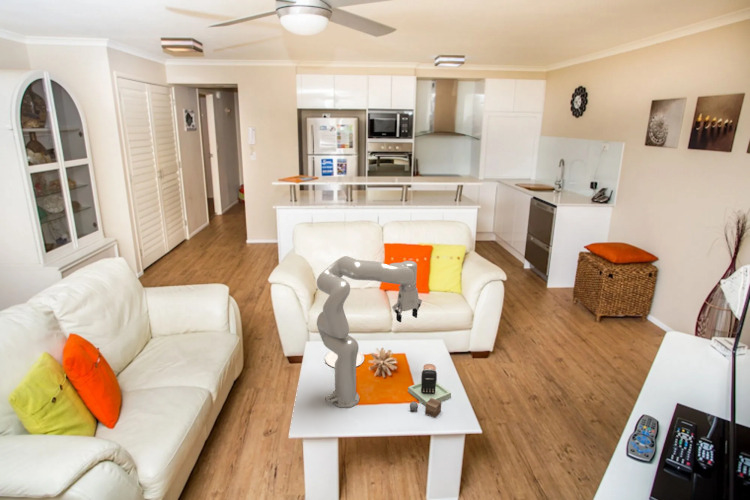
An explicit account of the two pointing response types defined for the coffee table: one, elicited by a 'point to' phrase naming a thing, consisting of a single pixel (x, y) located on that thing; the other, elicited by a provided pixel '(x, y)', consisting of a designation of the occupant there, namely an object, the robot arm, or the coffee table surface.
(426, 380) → the battery
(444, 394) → the tray
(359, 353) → the plate
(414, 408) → the ball
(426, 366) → the beige round piece
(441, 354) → the coffee table surface
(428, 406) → the block
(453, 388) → the coffee table surface
